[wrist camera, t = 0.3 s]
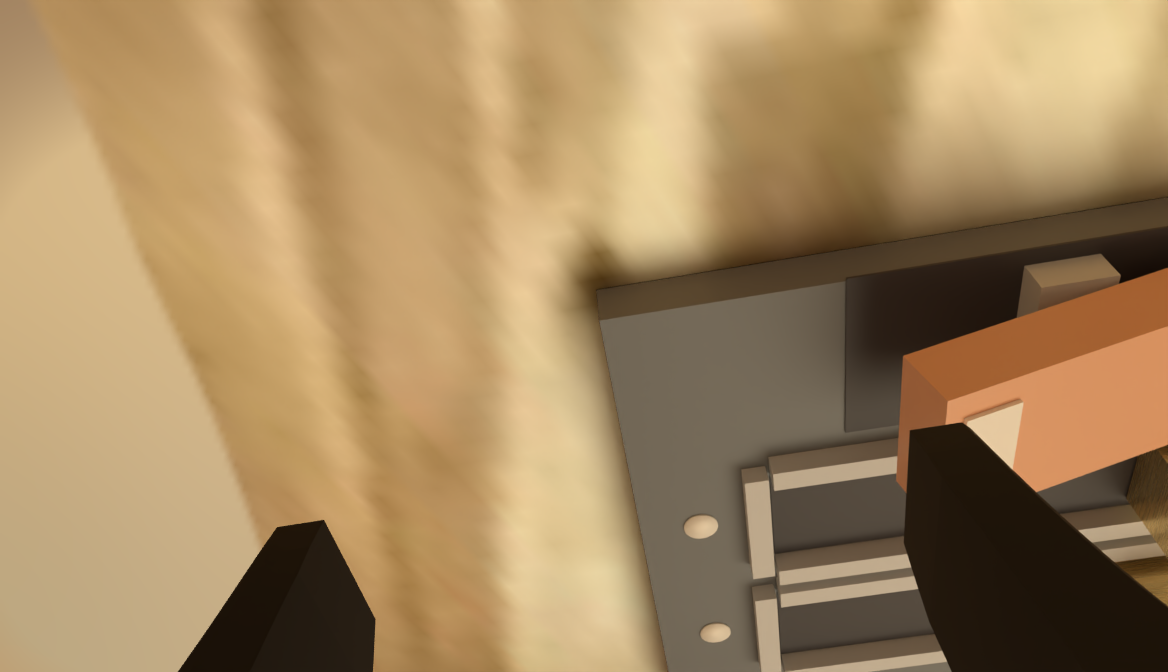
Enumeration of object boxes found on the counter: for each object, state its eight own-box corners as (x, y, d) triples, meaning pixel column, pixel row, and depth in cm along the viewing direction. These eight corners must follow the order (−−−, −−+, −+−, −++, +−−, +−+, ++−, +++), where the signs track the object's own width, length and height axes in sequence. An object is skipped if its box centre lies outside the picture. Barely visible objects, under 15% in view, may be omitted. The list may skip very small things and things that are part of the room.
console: (1290, 596, 29) (1336, 653, 28) (672, 677, 31) (679, 737, 29) (1514, 137, 20) (1605, 183, 18) (595, 286, 21) (601, 341, 19)
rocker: (1205, 371, 21) (1264, 413, 20) (895, 480, 20) (938, 531, 19) (1247, 241, 19) (1316, 279, 18) (903, 355, 18) (950, 404, 17)
